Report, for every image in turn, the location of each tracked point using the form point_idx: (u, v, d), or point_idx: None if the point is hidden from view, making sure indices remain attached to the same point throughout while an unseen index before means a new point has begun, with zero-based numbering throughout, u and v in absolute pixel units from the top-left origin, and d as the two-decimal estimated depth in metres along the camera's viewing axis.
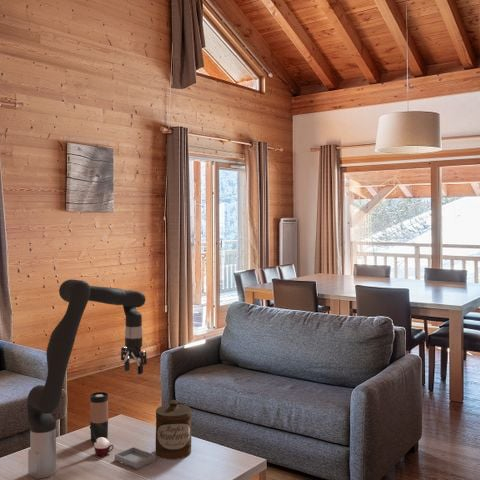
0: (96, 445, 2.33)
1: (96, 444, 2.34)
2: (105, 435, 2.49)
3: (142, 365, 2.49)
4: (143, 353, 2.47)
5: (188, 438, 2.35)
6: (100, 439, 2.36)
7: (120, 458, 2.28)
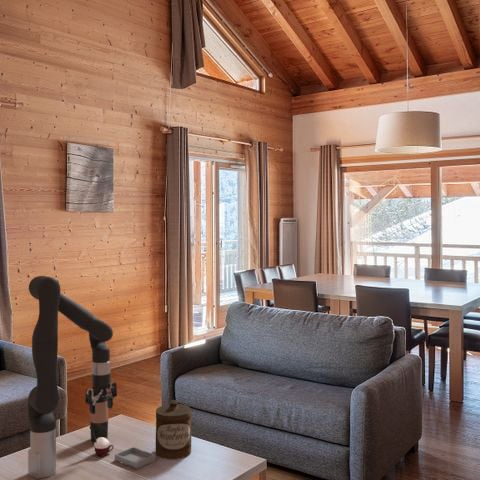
0: (96, 445, 2.33)
1: (96, 444, 2.34)
2: (105, 435, 2.49)
3: None
4: None
5: (188, 438, 2.35)
6: (100, 439, 2.36)
7: (120, 458, 2.28)
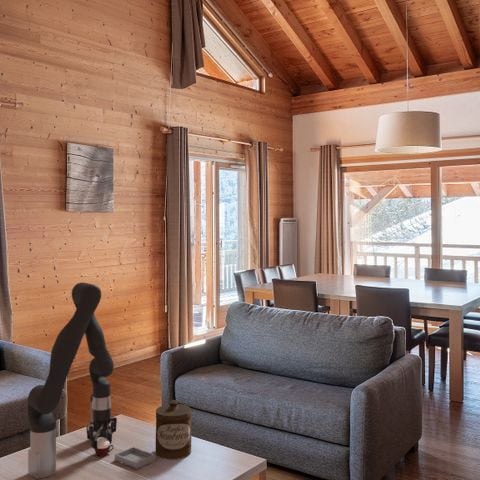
0: None
1: None
2: (105, 435, 2.49)
3: None
4: None
5: (188, 438, 2.35)
6: (100, 439, 2.36)
7: (120, 458, 2.28)
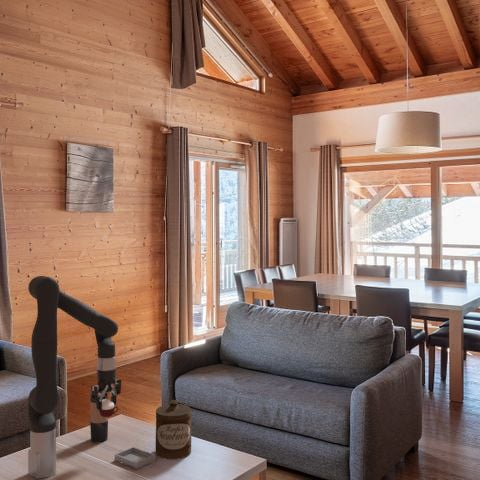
0: None
1: None
2: (105, 435, 2.49)
3: None
4: None
5: (188, 438, 2.35)
6: (105, 400, 2.34)
7: (120, 458, 2.28)
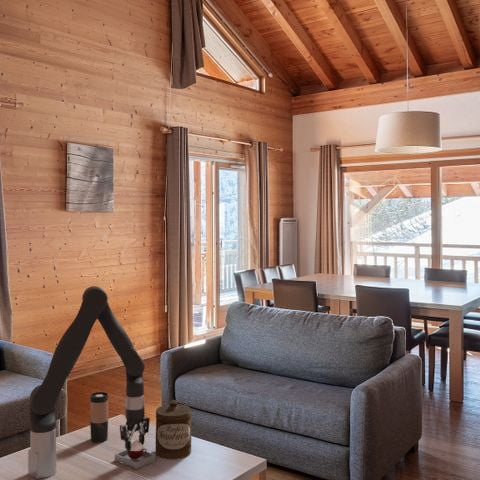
0: None
1: None
2: (105, 435, 2.49)
3: None
4: None
5: (188, 438, 2.35)
6: (134, 441, 2.30)
7: (120, 458, 2.28)
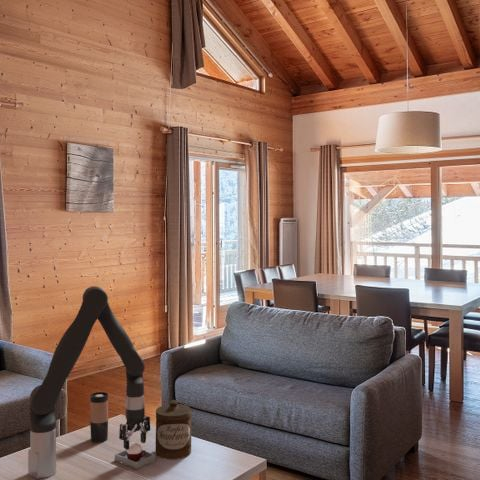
0: (128, 450, 2.27)
1: (128, 449, 2.27)
2: (105, 435, 2.49)
3: None
4: None
5: (188, 438, 2.35)
6: (132, 444, 2.29)
7: (120, 458, 2.28)
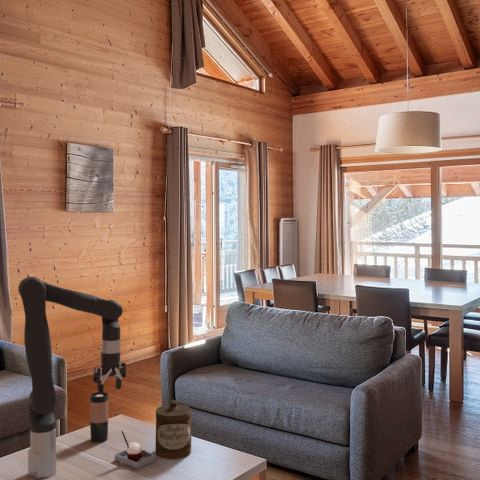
0: (128, 450, 2.27)
1: (128, 449, 2.27)
2: (105, 435, 2.49)
3: None
4: None
5: (188, 438, 2.35)
6: (132, 444, 2.29)
7: (120, 458, 2.28)
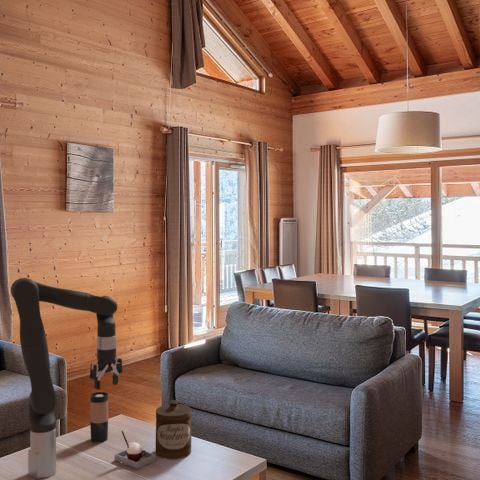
0: (128, 450, 2.27)
1: (128, 449, 2.27)
2: (105, 435, 2.49)
3: None
4: None
5: (188, 438, 2.35)
6: (132, 444, 2.29)
7: (120, 458, 2.28)
